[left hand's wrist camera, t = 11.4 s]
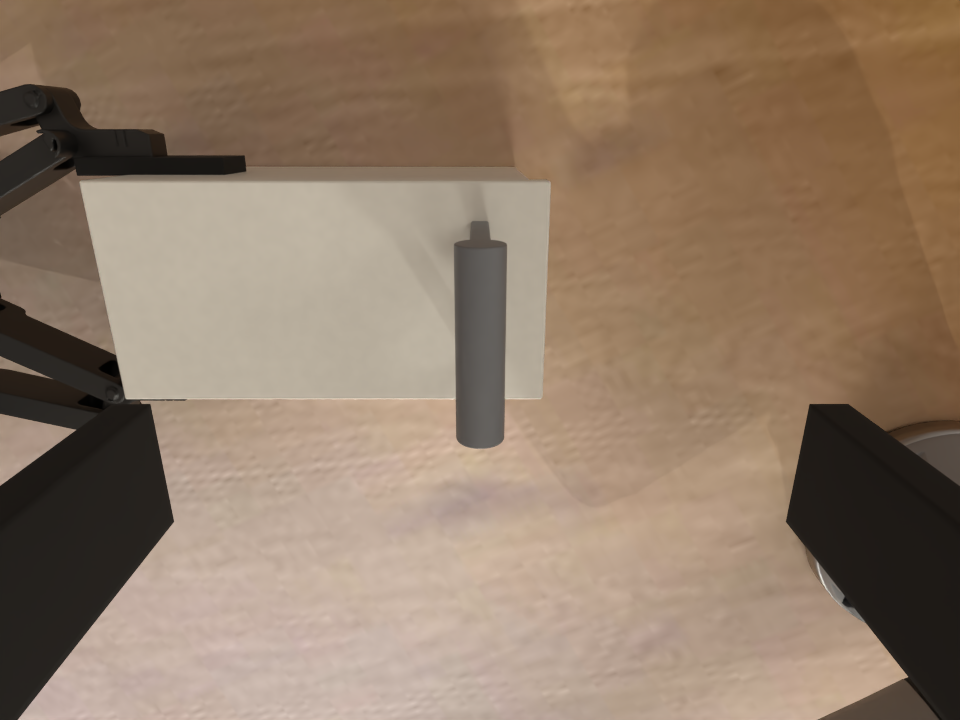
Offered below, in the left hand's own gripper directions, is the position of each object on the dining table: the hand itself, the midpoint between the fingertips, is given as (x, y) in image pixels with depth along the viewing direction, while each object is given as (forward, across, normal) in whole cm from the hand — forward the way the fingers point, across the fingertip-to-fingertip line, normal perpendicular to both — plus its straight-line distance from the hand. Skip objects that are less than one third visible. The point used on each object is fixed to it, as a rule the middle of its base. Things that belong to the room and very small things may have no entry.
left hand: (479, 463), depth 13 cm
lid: (+15, +6, 0) cm, 16 cm away
